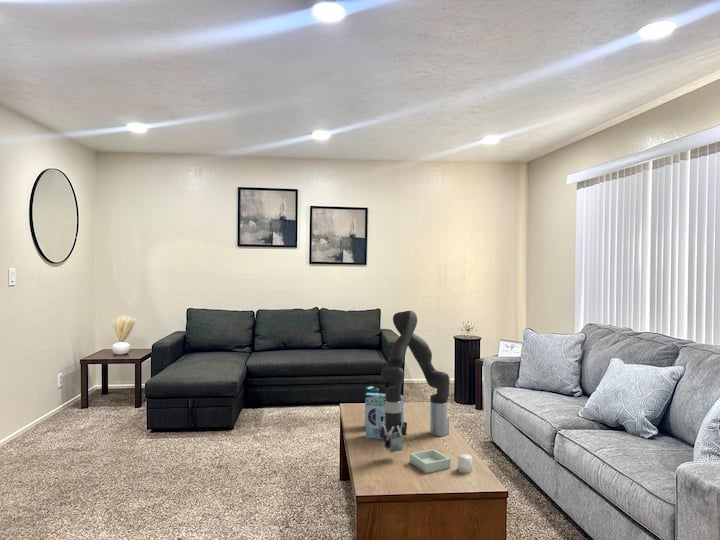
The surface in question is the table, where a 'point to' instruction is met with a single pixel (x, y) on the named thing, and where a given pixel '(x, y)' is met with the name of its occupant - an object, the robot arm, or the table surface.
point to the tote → (430, 460)
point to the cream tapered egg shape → (465, 463)
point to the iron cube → (395, 443)
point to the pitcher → (371, 390)
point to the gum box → (377, 414)
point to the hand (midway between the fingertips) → (393, 446)
